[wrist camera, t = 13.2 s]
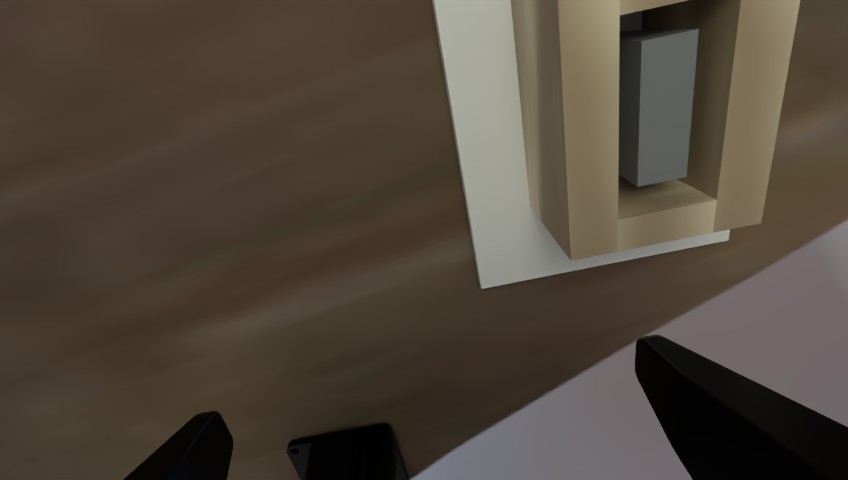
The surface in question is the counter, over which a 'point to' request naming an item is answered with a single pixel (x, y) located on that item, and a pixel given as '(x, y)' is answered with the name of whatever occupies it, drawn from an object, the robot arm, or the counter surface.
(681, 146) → the post stand
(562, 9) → the beige open box
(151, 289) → the counter surface
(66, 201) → the counter surface
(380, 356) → the counter surface
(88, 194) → the counter surface
